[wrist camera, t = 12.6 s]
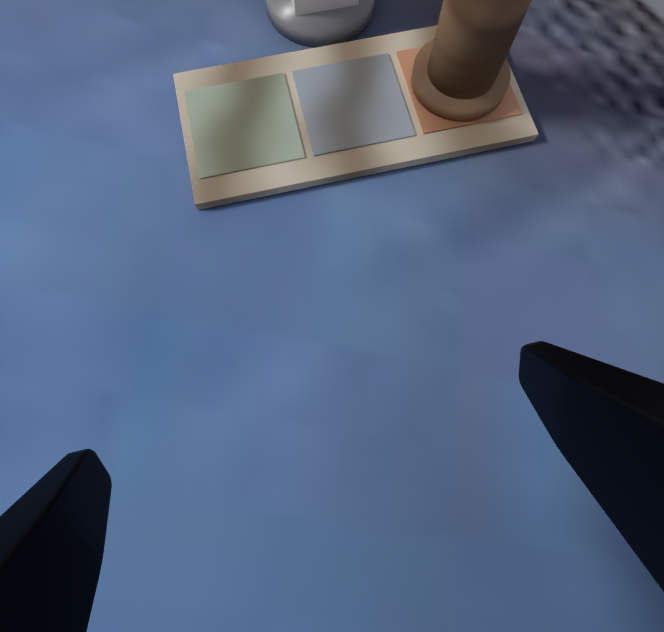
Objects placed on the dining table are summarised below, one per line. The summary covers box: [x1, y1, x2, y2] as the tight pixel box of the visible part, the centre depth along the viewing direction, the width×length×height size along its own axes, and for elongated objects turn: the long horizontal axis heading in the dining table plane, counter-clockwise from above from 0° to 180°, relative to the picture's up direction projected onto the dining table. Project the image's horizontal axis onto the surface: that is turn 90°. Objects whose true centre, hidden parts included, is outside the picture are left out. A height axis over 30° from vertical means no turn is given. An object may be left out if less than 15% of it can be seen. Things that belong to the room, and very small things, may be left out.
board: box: [173, 25, 538, 210], centre depth 25 cm, size 20×9×1 cm, turn 103°
